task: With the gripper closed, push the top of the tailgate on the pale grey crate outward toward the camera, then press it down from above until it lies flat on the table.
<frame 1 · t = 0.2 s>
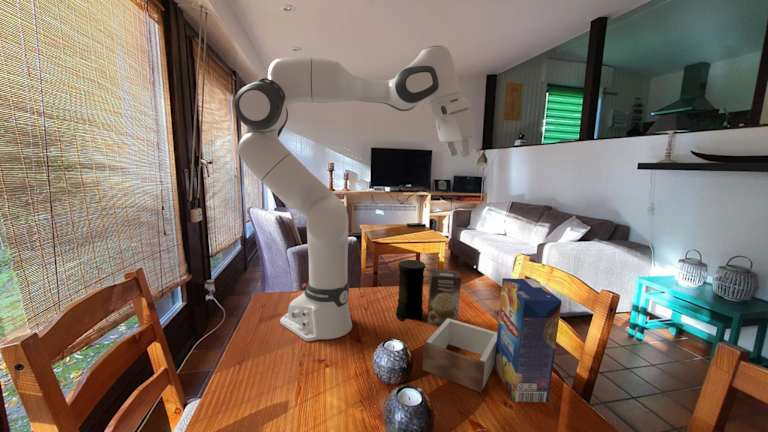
hand: (459, 156, 96), 52 cm above the table, tool tilted 20°, fingers open, 8 cm apart
coffee box: (441, 321, 106), on the table
tailgate: (452, 366, 76), point 5 cm above the table, hinge at 0.0°
juice carton: (518, 388, 76), on the table
crate: (461, 366, 83), on the table
container: (409, 317, 108), on the table
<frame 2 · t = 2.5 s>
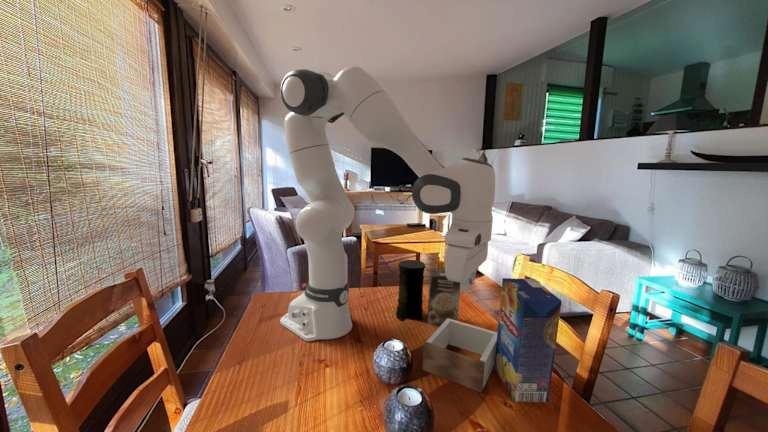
hand: (466, 288, 78), 21 cm above the table, tool pointing down, fingers closed
nothing on the table moved.
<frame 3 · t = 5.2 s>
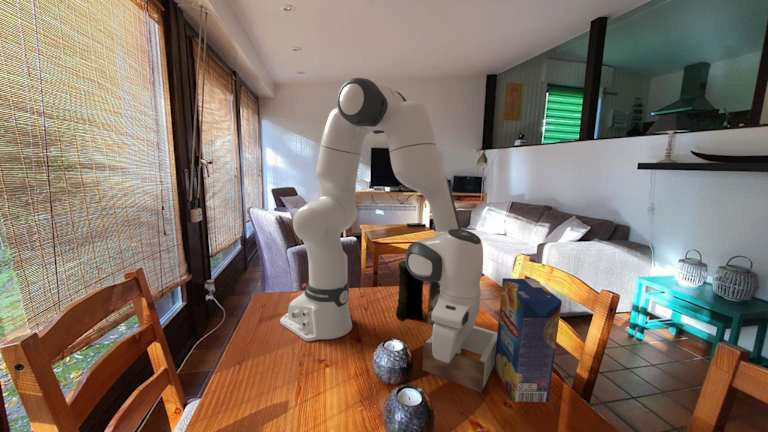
hand: (455, 358, 77), 6 cm above the table, tool pointing down, fingers closed
tailgate: (451, 366, 76), point 5 cm above the table, hinge at 1.7°, touching gripper
everything else where it was.
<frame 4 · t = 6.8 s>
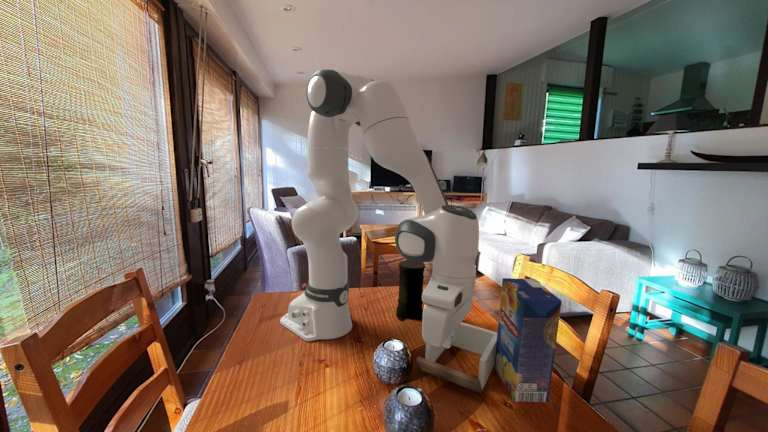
hand: (448, 344, 72), 12 cm above the table, tool pointing down, fingers closed
tailgate: (448, 375, 74), point 4 cm above the table, hinge at 36.7°
everything else where it was.
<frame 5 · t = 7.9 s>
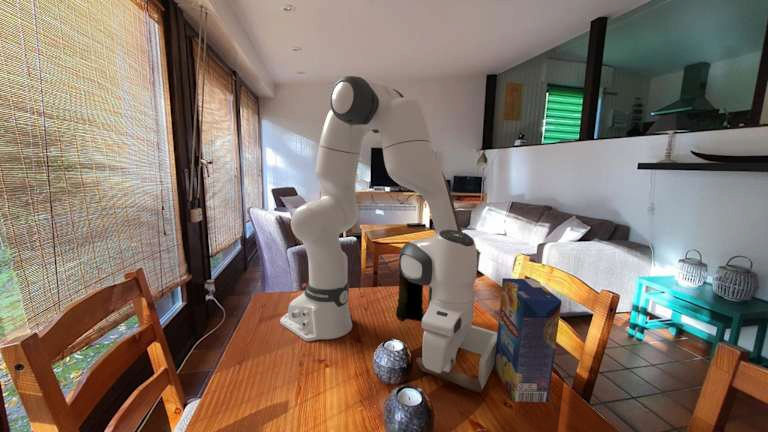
hand: (448, 367, 73), 6 cm above the table, tool pointing down, fingers closed
tailgate: (448, 375, 74), point 3 cm above the table, hinge at 38.4°, touching gripper
everything else where it was.
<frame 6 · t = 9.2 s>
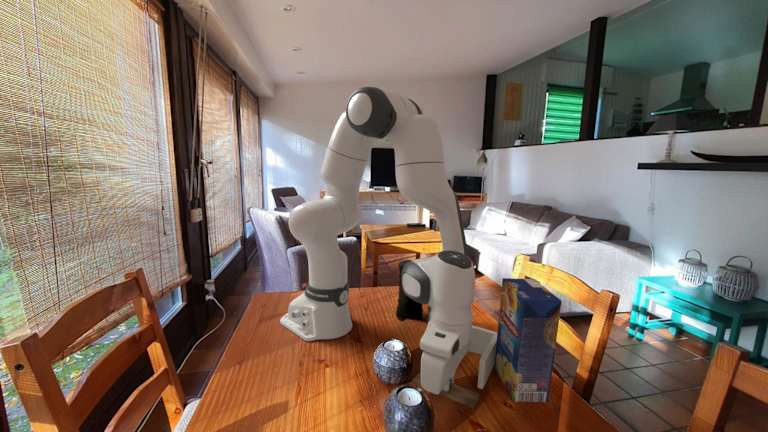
hand: (447, 386, 73), 2 cm above the table, tool pointing down, fingers closed
tailgate: (446, 387, 74), point 1 cm above the table, hinge at 82.3°, touching gripper
everything else where it was.
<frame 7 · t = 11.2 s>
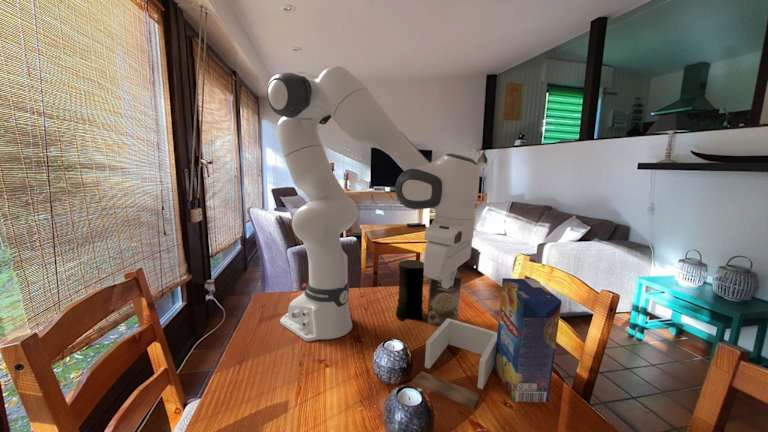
hand: (447, 286, 77), 22 cm above the table, tool pointing down, fingers closed
tailgate: (446, 387, 74), point 1 cm above the table, hinge at 82.4°
everything else where it was.
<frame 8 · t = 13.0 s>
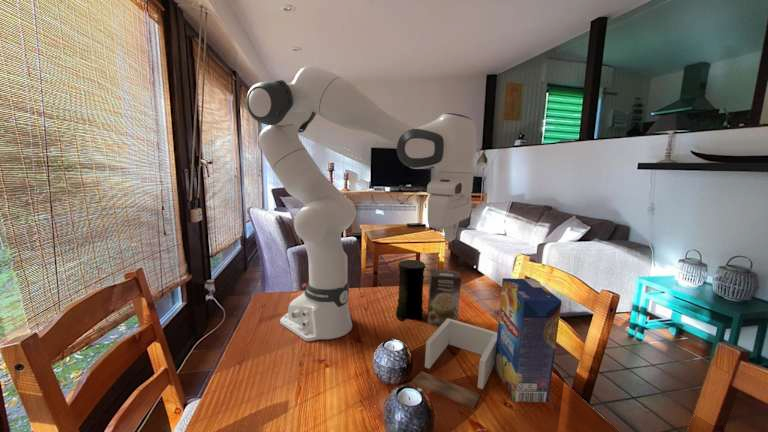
hand: (449, 240, 82), 31 cm above the table, tool pointing down, fingers closed
nothing on the table moved.
at the end: tailgate at +82° (first picture: +0°); juice carton moved 0.2 cm from its start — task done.
